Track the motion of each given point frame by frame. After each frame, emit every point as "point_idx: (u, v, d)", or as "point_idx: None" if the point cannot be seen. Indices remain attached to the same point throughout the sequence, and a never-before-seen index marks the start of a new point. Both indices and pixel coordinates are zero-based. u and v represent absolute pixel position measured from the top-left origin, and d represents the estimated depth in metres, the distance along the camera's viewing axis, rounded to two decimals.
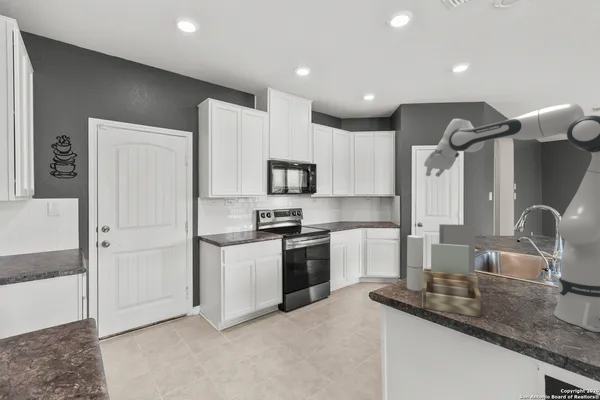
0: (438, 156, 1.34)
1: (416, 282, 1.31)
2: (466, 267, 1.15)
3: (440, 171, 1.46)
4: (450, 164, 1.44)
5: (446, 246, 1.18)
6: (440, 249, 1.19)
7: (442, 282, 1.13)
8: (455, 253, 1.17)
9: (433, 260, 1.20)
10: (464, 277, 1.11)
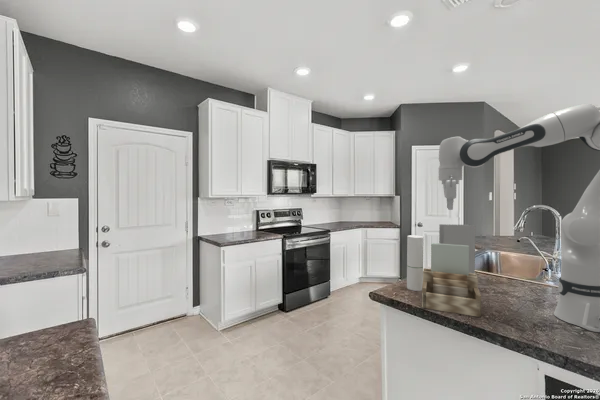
0: None
1: (416, 282, 1.31)
2: (466, 267, 1.15)
3: None
4: None
5: (446, 246, 1.18)
6: (440, 249, 1.19)
7: (442, 282, 1.13)
8: (455, 253, 1.17)
9: (433, 260, 1.20)
10: (464, 277, 1.11)
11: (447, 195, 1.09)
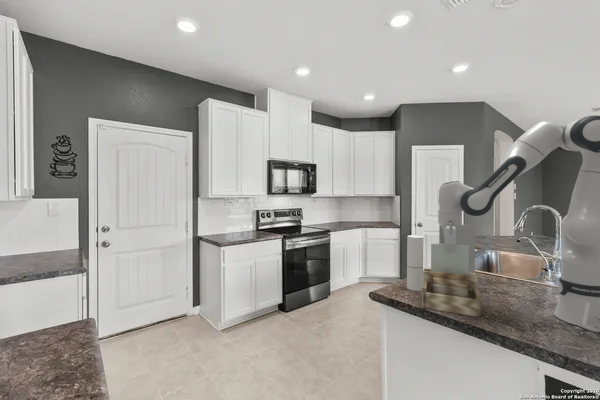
0: (455, 228, 1.11)
1: (416, 282, 1.31)
2: (466, 267, 1.15)
3: None
4: None
5: (446, 246, 1.18)
6: (440, 249, 1.19)
7: (442, 282, 1.13)
8: (455, 253, 1.17)
9: (433, 260, 1.20)
10: (464, 277, 1.11)
11: (447, 242, 1.10)
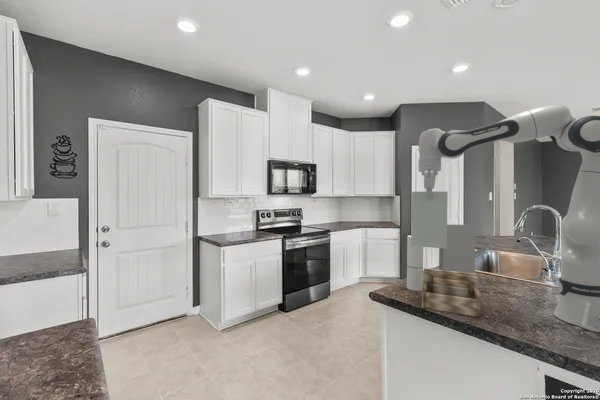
0: None
1: (416, 282, 1.31)
2: (445, 212, 1.18)
3: None
4: (434, 181, 1.27)
5: (426, 193, 1.21)
6: (420, 196, 1.22)
7: (442, 282, 1.13)
8: (434, 199, 1.19)
9: (414, 208, 1.23)
10: (464, 277, 1.11)
11: (425, 185, 1.13)
